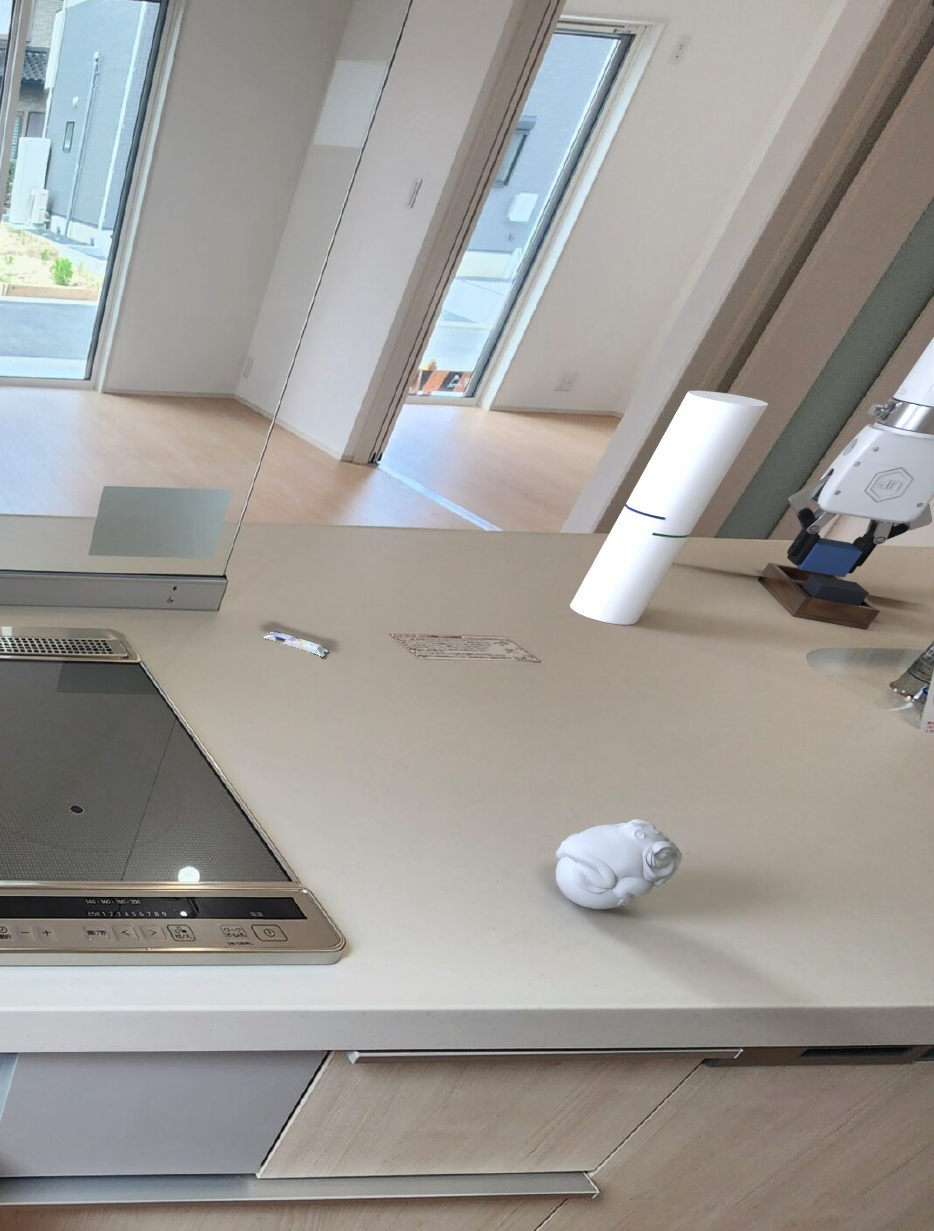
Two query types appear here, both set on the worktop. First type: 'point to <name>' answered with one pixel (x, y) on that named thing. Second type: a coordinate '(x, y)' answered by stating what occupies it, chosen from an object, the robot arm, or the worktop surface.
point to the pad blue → (831, 557)
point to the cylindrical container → (666, 504)
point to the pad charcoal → (834, 590)
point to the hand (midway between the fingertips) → (819, 564)
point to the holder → (813, 608)
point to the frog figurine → (615, 863)
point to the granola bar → (297, 643)
